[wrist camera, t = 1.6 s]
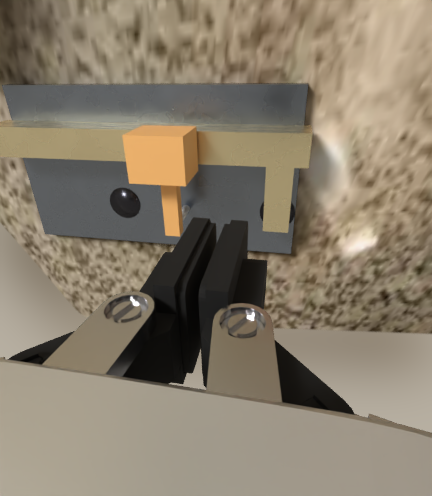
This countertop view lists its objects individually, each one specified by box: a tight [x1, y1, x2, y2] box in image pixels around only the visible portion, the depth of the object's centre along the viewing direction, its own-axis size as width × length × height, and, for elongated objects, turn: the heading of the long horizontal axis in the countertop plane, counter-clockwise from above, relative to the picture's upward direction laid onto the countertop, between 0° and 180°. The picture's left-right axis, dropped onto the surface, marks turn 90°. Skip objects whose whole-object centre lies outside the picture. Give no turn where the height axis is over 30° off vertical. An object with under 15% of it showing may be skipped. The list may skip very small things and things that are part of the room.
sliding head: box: [122, 125, 198, 237], centre depth 27 cm, size 4×8×6 cm, turn 1°
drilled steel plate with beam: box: [0, 83, 313, 254], centre depth 30 cm, size 26×14×4 cm, turn 91°
